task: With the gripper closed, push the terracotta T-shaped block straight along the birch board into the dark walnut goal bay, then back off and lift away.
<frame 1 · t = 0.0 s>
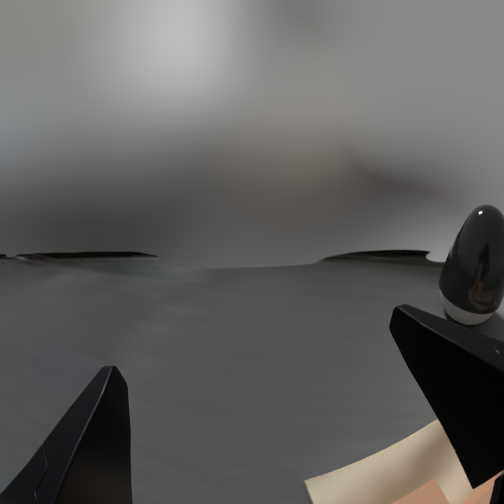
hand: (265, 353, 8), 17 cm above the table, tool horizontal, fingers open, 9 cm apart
grey egg-shaped pod: (463, 313, 29), on the table
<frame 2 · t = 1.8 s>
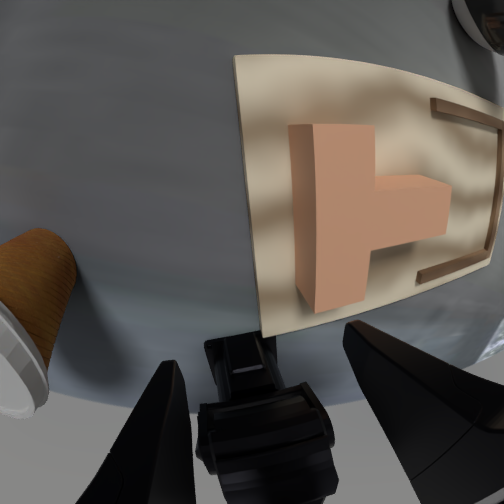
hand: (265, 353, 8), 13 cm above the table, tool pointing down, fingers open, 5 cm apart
grey egg-shaped pod: (465, 18, 14), on the table
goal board: (424, 192, 22), on the table
t block: (364, 202, 20), point 1 cm above the table, touching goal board
disposable coffee cup: (46, 263, 18), on the table
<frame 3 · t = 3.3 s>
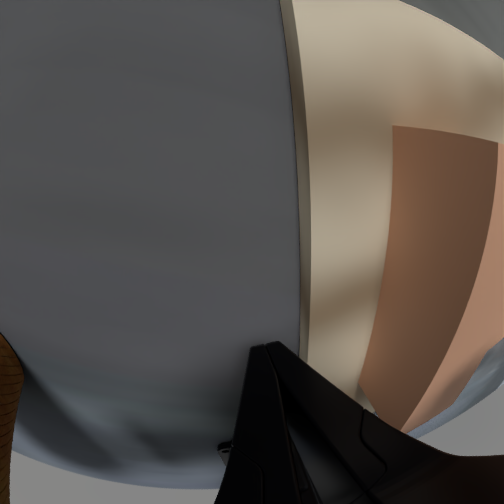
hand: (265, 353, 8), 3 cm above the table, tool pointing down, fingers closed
t block: (467, 259, 11), point 1 cm above the table, touching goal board
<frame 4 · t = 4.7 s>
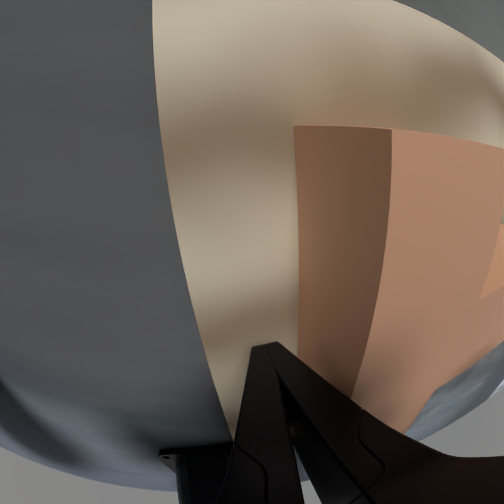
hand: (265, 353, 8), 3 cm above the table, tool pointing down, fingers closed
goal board: (489, 244, 12), on the table
t block: (425, 277, 10), point 1 cm above the table, touching gripper
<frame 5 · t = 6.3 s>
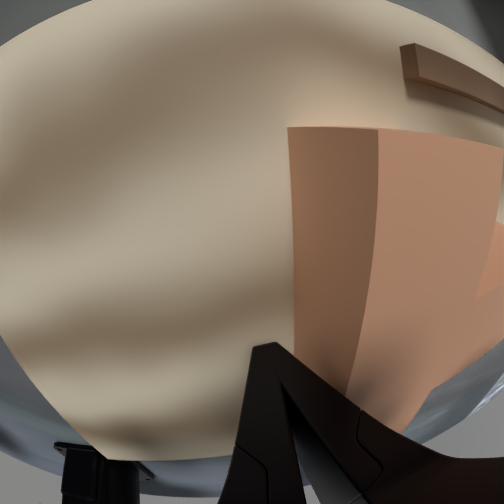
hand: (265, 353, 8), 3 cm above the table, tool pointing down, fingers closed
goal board: (386, 274, 11), on the table
t block: (422, 277, 10), point 1 cm above the table, touching gripper
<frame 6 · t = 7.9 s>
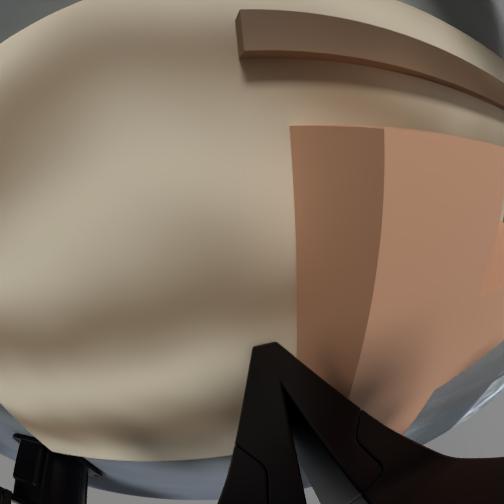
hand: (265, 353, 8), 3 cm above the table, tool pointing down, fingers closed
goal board: (268, 300, 10), on the table
t block: (425, 277, 10), point 1 cm above the table, touching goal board, gripper
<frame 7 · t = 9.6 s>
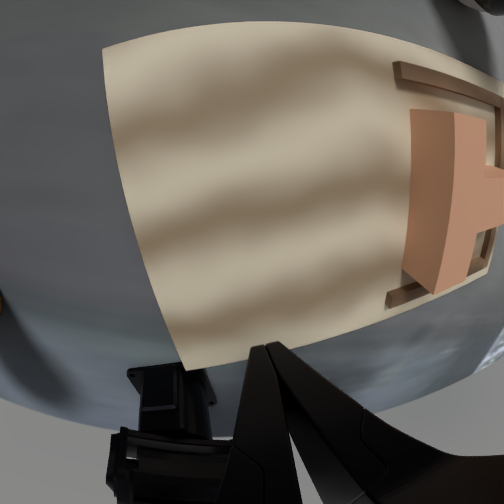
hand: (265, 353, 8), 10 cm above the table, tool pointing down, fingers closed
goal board: (393, 190, 17), on the table
t block: (457, 188, 17), point 1 cm above the table, touching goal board
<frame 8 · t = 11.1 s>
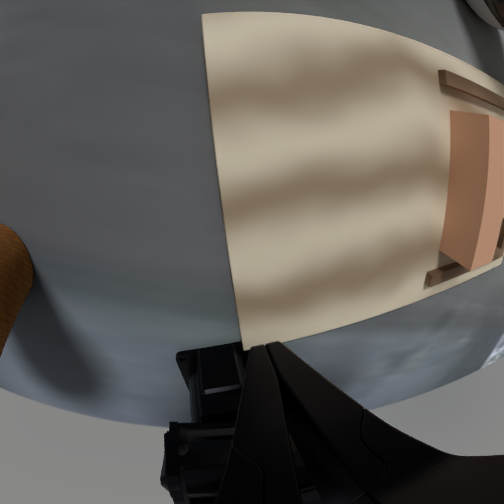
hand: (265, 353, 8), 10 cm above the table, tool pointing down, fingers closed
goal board: (434, 179, 18), on the table
t block: (482, 182, 18), point 1 cm above the table, touching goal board
disposable coffee cup: (4, 261, 14), on the table
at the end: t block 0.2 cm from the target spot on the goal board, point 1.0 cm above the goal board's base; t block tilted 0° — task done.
